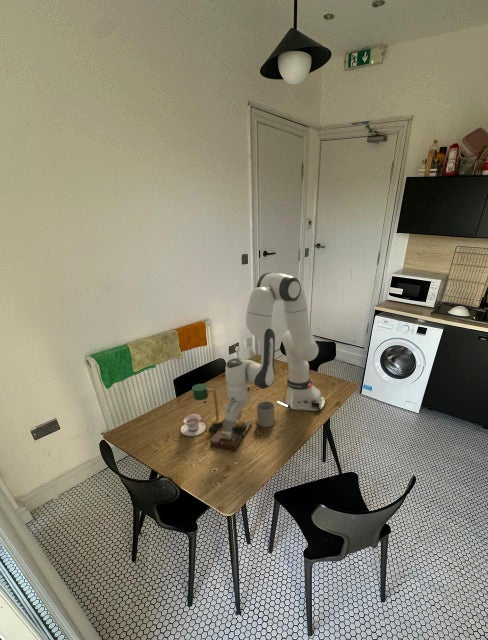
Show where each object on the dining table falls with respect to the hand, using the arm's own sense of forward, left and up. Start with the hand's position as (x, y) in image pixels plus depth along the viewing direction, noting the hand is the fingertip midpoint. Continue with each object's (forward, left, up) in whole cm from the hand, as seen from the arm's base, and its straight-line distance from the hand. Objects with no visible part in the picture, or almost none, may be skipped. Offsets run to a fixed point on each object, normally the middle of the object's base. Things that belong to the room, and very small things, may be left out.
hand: (238, 418), depth 153 cm
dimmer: (+2, +11, -7) cm, 13 cm away
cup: (-10, -10, -7) cm, 16 cm away
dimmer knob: (+2, +11, -4) cm, 12 cm away
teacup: (+22, +6, -7) cm, 24 cm away
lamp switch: (0, 0, -4) cm, 4 cm away
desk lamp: (+15, 0, -3) cm, 16 cm away
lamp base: (+5, 0, -7) cm, 8 cm away
